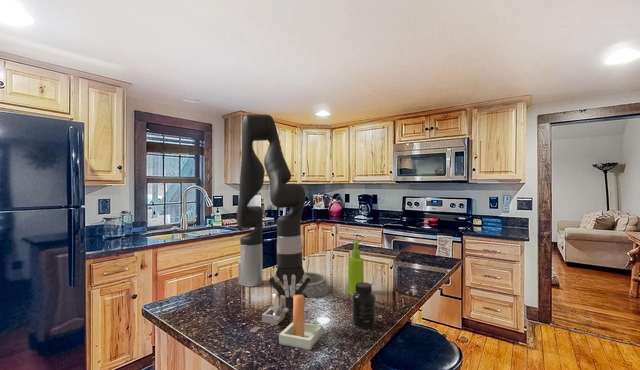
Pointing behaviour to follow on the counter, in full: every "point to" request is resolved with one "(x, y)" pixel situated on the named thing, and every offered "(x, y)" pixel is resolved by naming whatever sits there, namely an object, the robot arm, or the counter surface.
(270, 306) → the crank flange
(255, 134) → the robot arm
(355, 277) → the soap dispenser
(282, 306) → the crank
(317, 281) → the dog bowl
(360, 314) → the supplement bottle
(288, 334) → the tray
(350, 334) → the counter surface
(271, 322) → the collar
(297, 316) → the pin
